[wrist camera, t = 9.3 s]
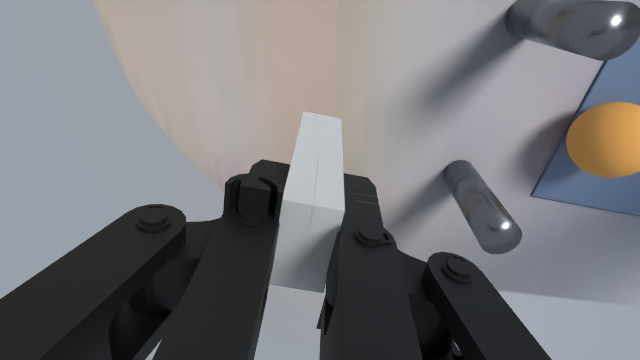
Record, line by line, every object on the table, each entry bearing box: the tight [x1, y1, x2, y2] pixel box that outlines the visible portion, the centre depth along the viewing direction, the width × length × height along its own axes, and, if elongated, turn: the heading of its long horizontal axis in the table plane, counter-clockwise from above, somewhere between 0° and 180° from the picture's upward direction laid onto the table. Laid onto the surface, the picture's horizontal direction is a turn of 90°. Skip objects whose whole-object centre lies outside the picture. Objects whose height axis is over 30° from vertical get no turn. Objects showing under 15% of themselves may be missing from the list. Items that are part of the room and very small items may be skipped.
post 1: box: [443, 160, 522, 254], centre depth 27 cm, size 3×3×9 cm
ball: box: [566, 102, 640, 178], centre depth 26 cm, size 6×6×6 cm
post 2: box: [506, 0, 640, 60], centre depth 21 cm, size 3×3×9 cm
